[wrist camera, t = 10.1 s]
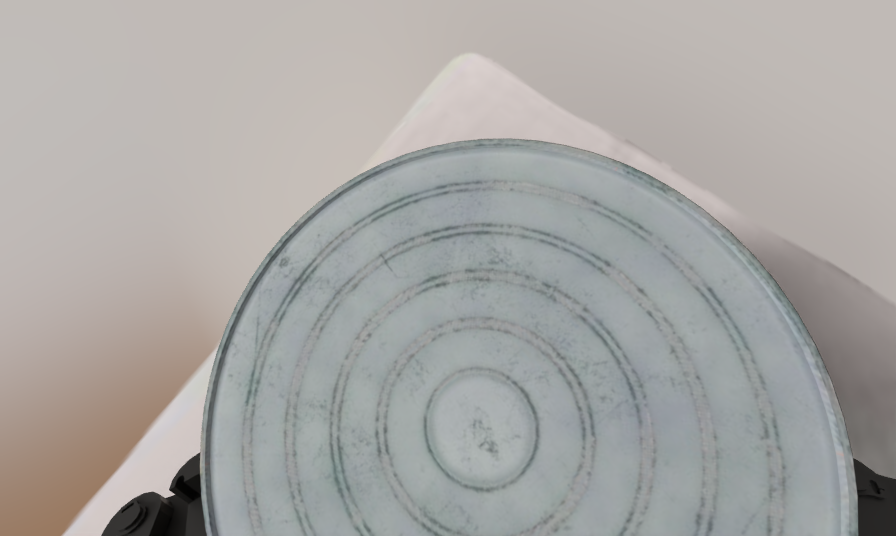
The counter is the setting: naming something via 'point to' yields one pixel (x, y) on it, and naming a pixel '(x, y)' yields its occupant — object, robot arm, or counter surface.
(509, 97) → the counter surface
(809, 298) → the counter surface
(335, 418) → the canned food
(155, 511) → the robot arm
